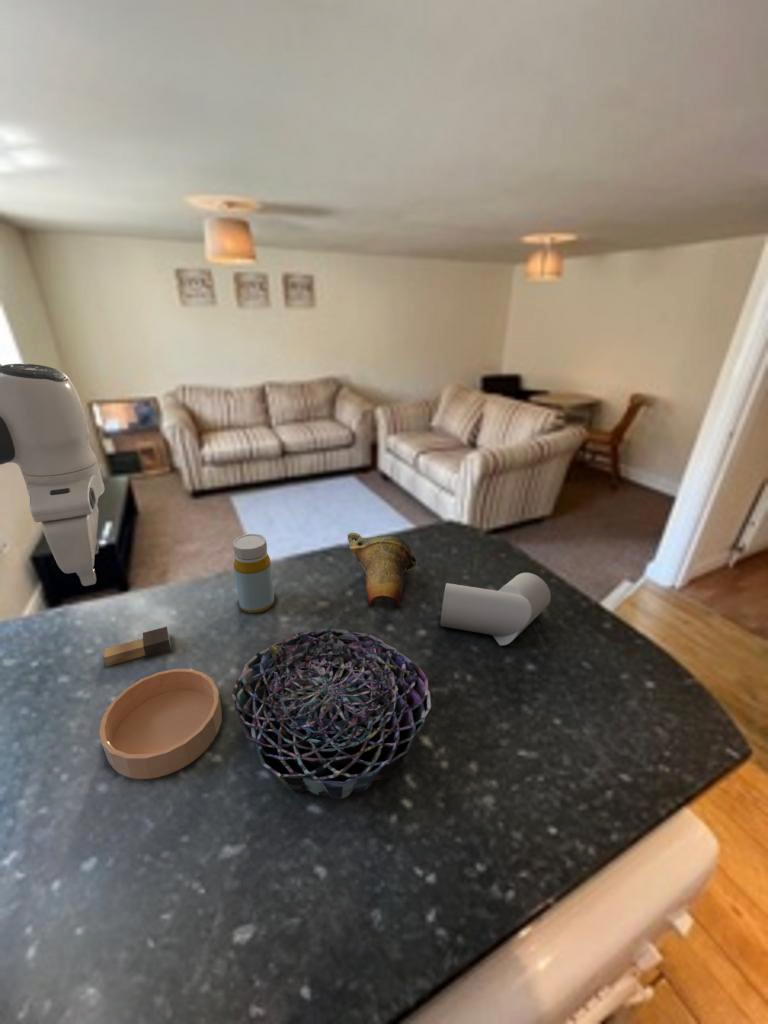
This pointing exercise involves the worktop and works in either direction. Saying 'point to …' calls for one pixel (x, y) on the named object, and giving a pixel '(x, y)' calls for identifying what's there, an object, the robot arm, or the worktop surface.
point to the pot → (383, 563)
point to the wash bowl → (161, 723)
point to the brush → (139, 647)
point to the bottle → (253, 573)
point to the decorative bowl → (331, 709)
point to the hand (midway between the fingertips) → (91, 567)
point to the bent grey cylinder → (496, 607)
